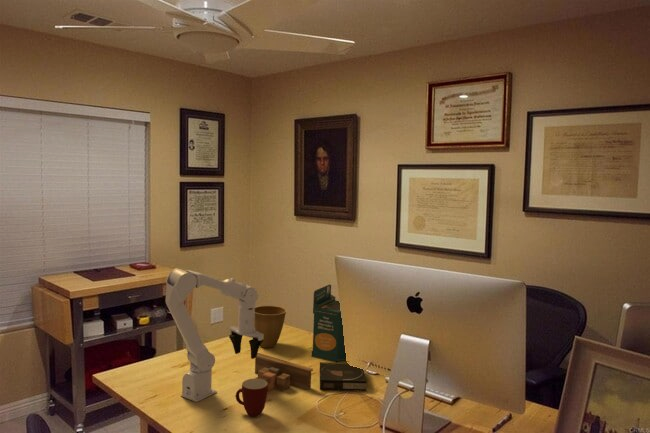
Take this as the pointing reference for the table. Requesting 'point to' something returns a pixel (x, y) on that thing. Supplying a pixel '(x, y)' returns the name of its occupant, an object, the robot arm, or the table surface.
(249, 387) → the mug
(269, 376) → the brown boxy piece
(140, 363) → the table surface
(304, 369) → the board
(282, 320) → the plant pot
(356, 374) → the portable cd player
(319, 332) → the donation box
